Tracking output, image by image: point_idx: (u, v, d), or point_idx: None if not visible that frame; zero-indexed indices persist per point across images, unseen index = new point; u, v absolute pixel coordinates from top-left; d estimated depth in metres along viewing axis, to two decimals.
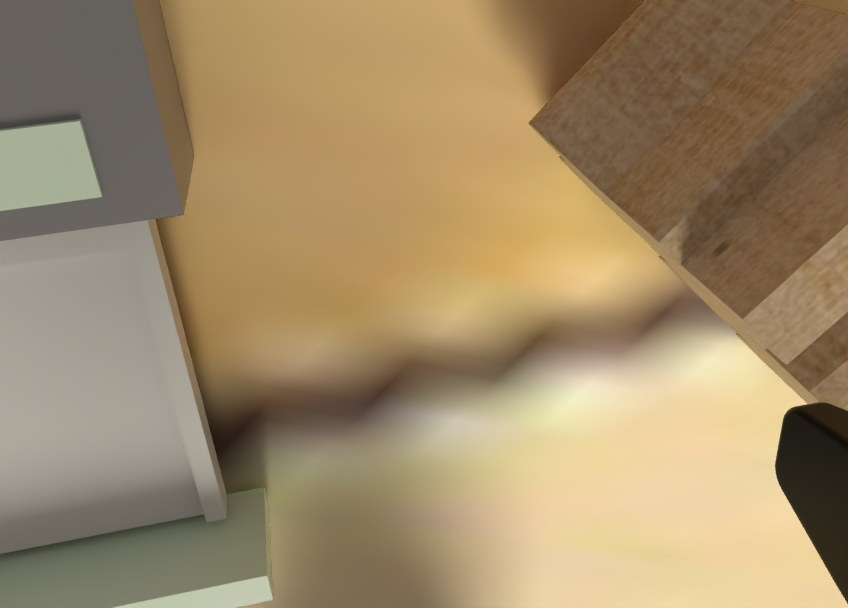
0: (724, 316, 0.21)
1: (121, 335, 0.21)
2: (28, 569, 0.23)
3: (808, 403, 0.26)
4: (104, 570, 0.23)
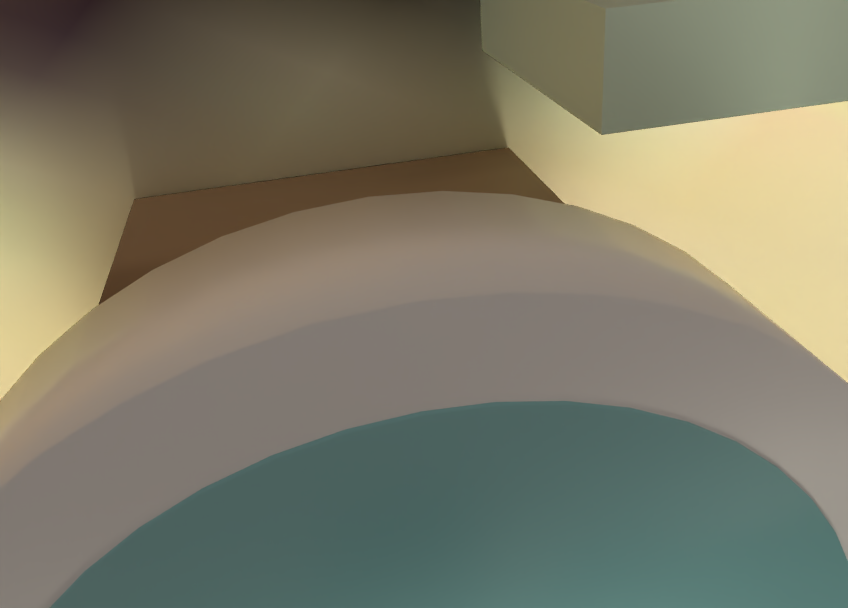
0: None
1: None
2: None
3: None
4: None
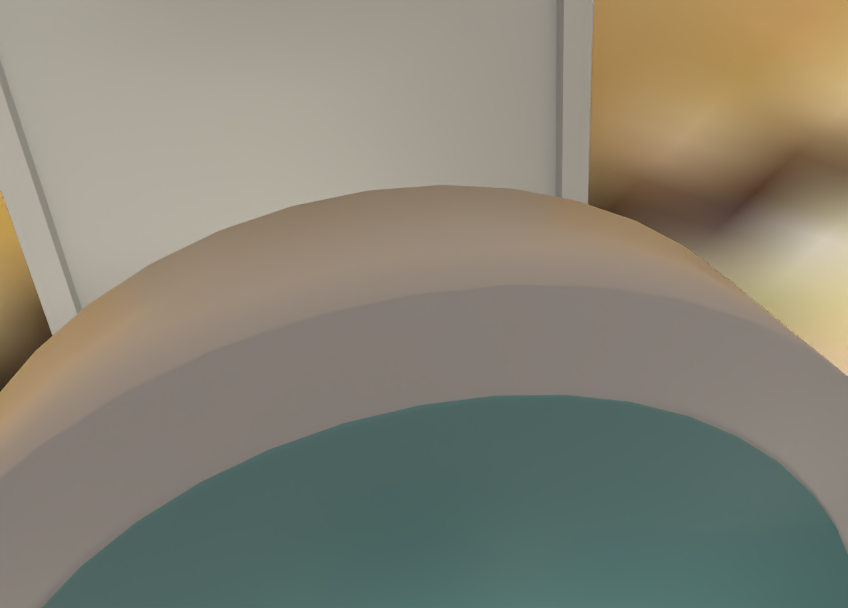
0: None
1: (514, 65, 0.16)
2: None
3: None
4: None
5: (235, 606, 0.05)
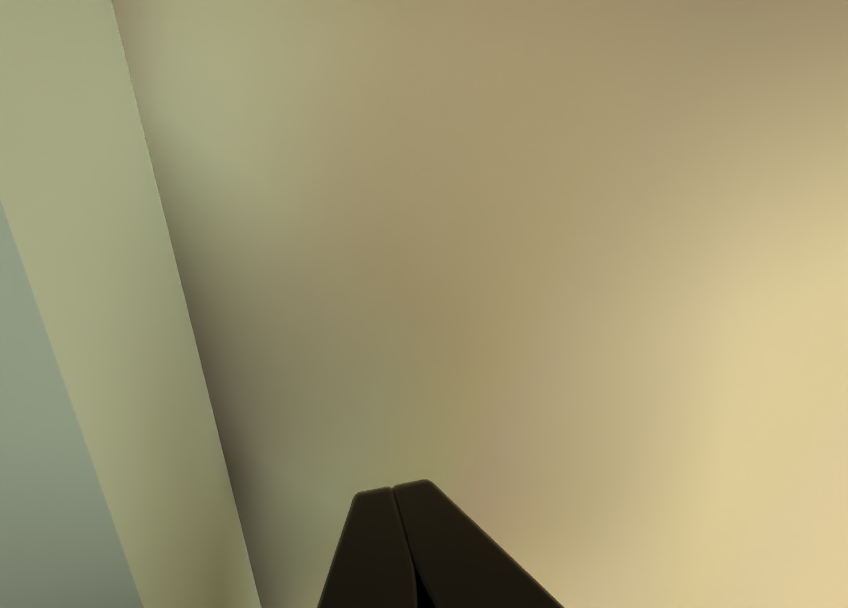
0: None
1: None
2: None
3: None
4: None
5: None
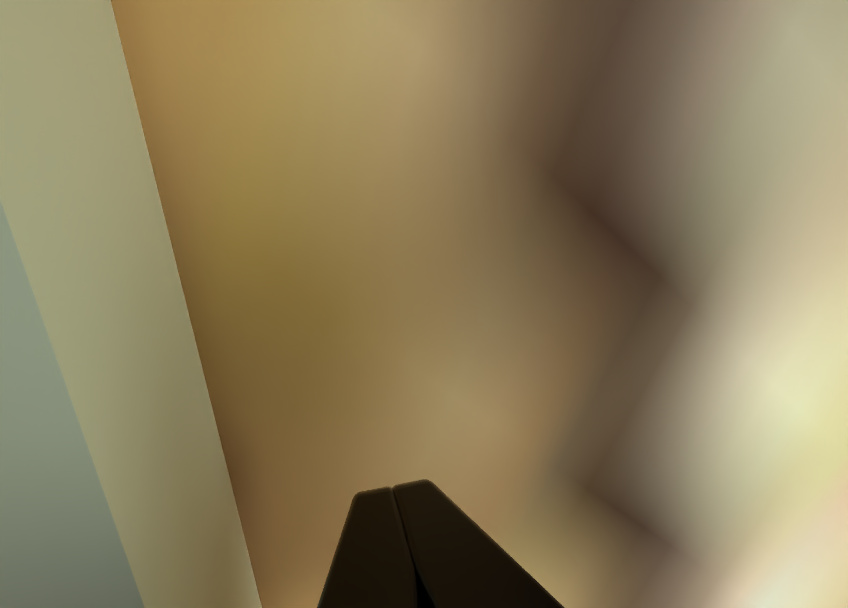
0: None
1: None
2: None
3: None
4: None
5: None
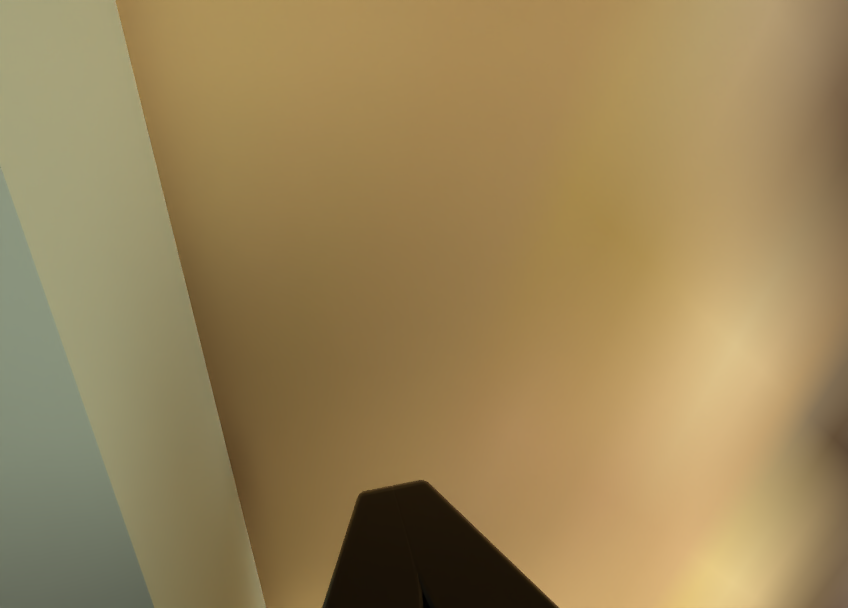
0: None
1: None
2: None
3: None
4: None
5: None
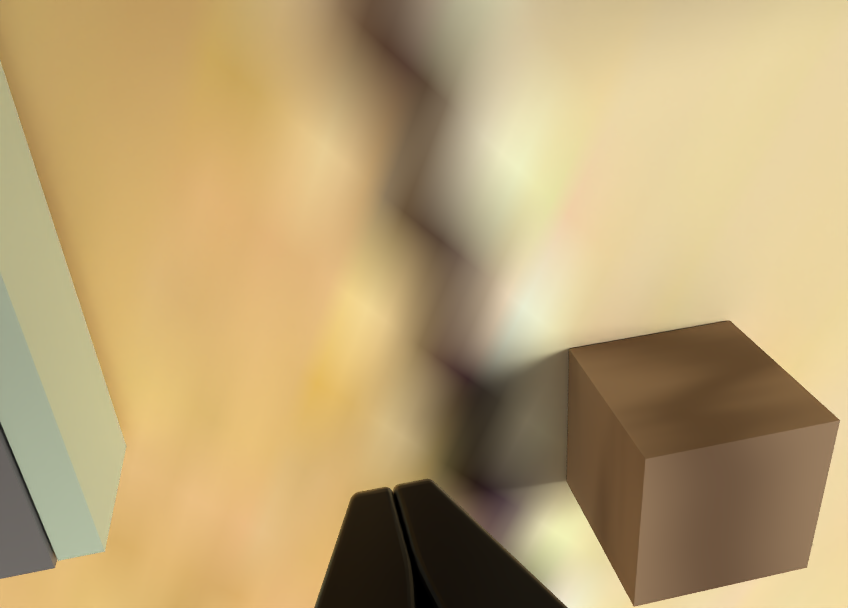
0: None
1: None
2: None
3: None
4: None
5: None
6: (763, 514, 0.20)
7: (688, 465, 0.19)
